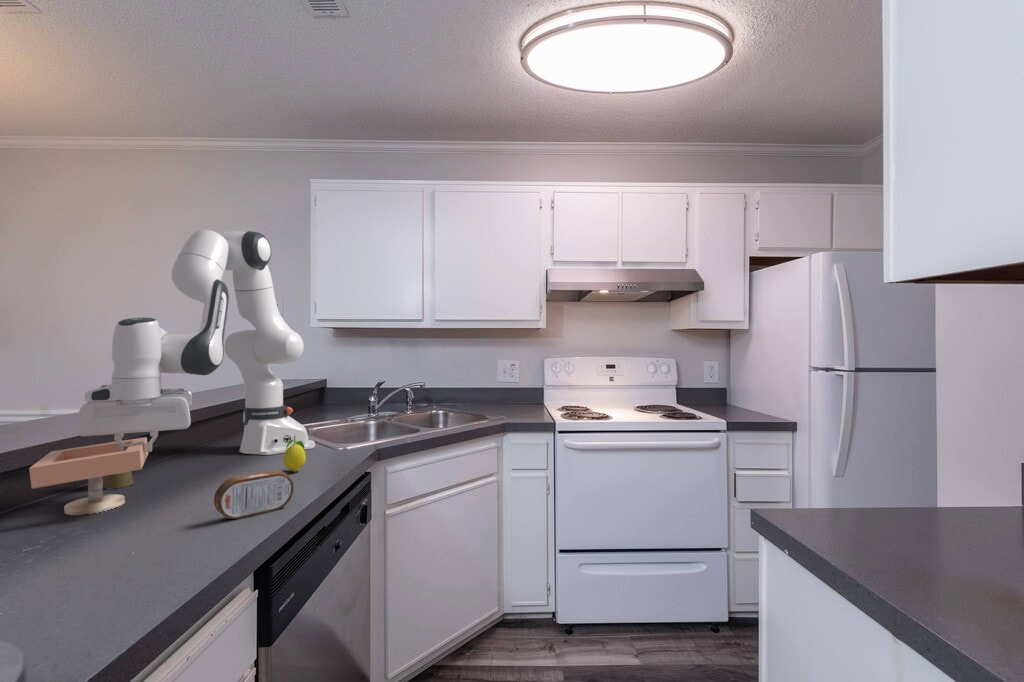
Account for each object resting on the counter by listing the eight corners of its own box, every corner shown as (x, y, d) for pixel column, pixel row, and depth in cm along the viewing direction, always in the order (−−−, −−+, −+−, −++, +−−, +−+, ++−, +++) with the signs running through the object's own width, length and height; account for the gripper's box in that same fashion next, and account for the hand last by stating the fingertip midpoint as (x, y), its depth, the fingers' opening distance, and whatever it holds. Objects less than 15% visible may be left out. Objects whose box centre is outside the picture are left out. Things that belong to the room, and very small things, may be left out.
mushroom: (127, 496, 114) (127, 466, 114) (121, 509, 106) (121, 476, 106) (69, 504, 109) (69, 472, 109) (59, 518, 101) (59, 484, 101)
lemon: (285, 476, 132) (285, 438, 132) (278, 472, 136) (278, 435, 136) (310, 472, 136) (311, 435, 136) (303, 467, 140) (303, 432, 140)
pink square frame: (148, 453, 119) (146, 437, 119) (141, 469, 105) (139, 450, 104) (53, 469, 110) (51, 451, 110) (31, 488, 96) (29, 468, 95)
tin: (290, 503, 111) (290, 465, 111) (295, 507, 108) (295, 468, 108) (213, 520, 100) (213, 479, 100) (217, 525, 98) (217, 482, 98)
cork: (116, 490, 119) (116, 444, 119) (95, 488, 121) (95, 443, 120) (139, 483, 125) (139, 439, 125) (119, 481, 126) (119, 438, 126)
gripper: (192, 387, 119) (192, 444, 119) (80, 391, 108) (80, 454, 108) (192, 389, 114) (192, 449, 114) (74, 393, 103) (74, 460, 103)
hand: (136, 452), depth 111 cm, fingers closed on pink square frame, 3 cm apart
